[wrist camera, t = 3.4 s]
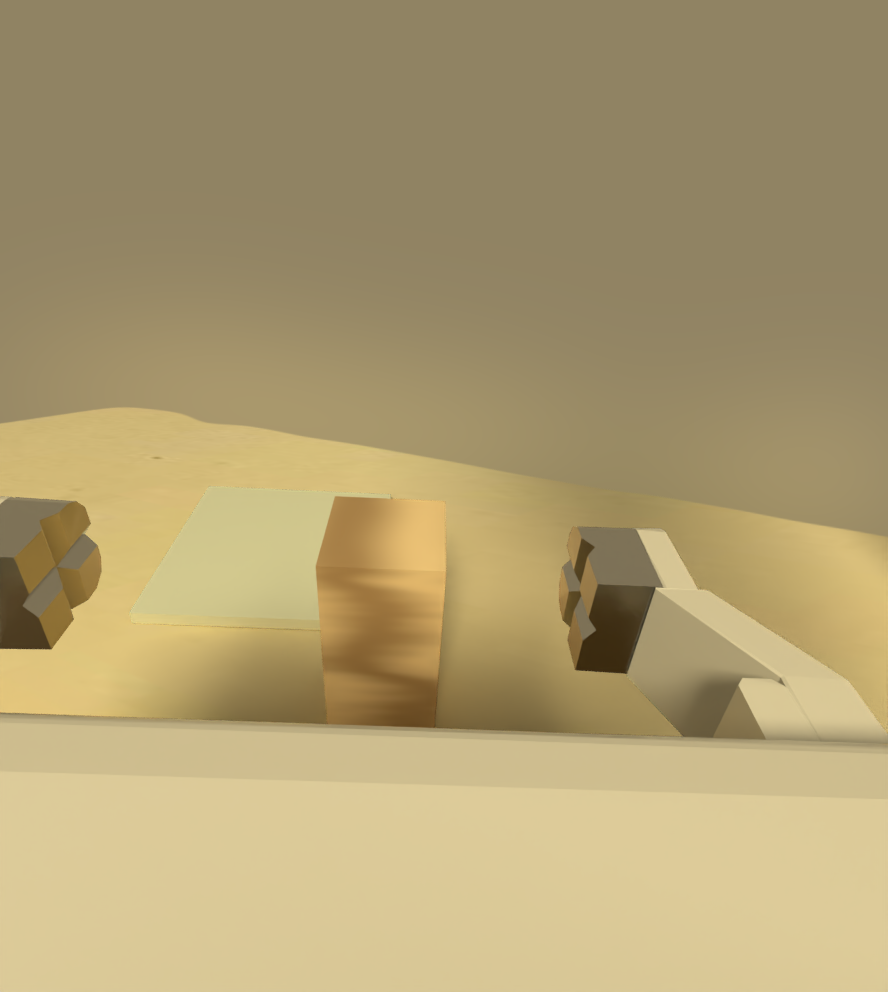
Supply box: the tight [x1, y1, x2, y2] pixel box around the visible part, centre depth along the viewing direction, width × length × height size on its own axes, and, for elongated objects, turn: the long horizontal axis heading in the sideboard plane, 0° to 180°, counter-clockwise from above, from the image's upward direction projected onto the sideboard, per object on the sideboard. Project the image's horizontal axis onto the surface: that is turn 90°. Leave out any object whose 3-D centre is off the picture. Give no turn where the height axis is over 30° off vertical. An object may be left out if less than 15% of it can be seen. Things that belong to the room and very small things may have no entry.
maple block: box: [316, 496, 446, 728], centre depth 28 cm, size 5×5×11 cm
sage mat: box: [129, 486, 391, 630], centre depth 40 cm, size 14×14×1 cm
